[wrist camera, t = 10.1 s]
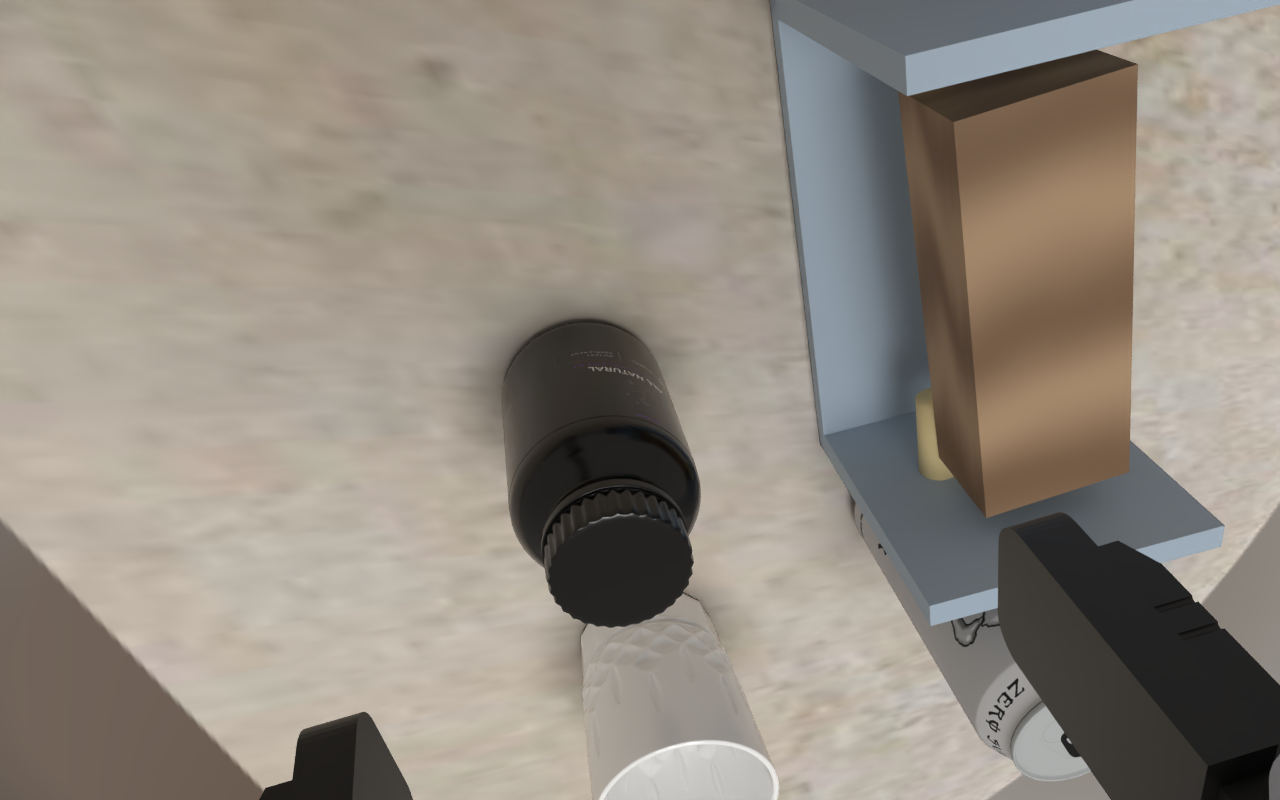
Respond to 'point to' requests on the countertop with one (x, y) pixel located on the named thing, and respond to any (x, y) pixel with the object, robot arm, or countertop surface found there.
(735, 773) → the white cup
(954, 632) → the energy drink can
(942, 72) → the peg stand
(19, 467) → the countertop surface
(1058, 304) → the walnut board
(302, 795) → the robot arm
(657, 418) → the supplement bottle
